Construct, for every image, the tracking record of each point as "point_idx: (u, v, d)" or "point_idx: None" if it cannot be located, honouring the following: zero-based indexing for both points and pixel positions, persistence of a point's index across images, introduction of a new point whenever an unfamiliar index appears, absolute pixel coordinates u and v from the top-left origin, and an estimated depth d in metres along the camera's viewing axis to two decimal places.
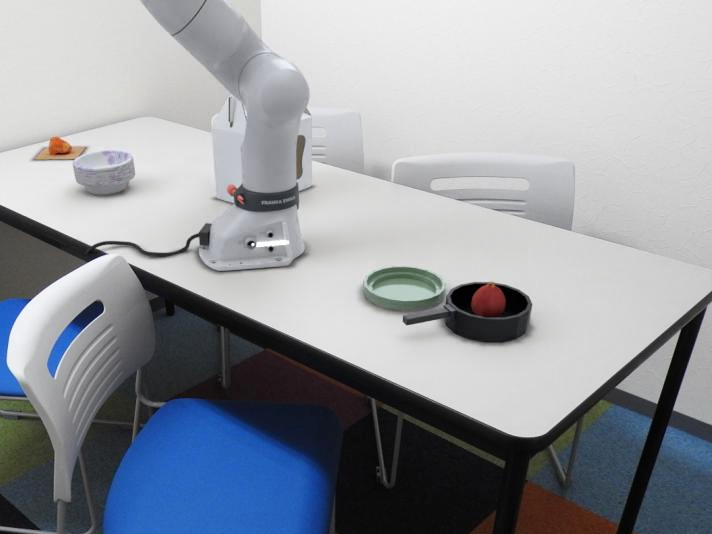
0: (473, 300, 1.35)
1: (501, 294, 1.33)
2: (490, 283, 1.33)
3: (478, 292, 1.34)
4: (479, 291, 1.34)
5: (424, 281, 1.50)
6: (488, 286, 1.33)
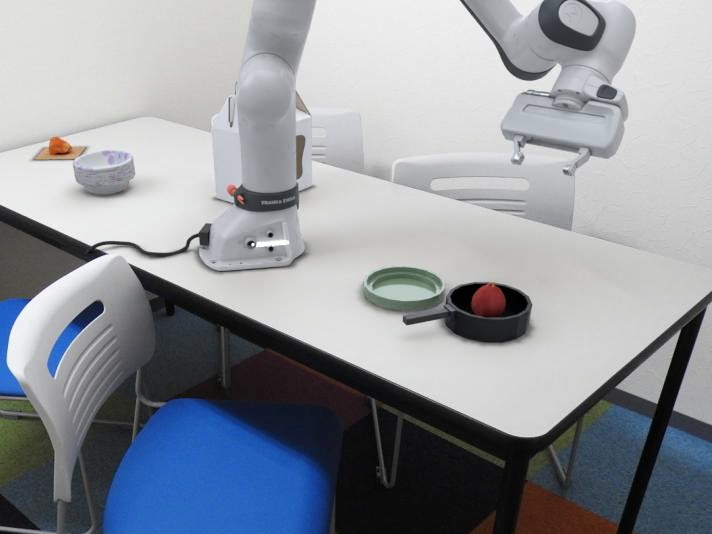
0: (473, 300, 1.35)
1: (501, 294, 1.33)
2: (490, 283, 1.33)
3: (478, 292, 1.34)
4: (479, 291, 1.34)
5: (424, 281, 1.50)
6: (488, 286, 1.33)
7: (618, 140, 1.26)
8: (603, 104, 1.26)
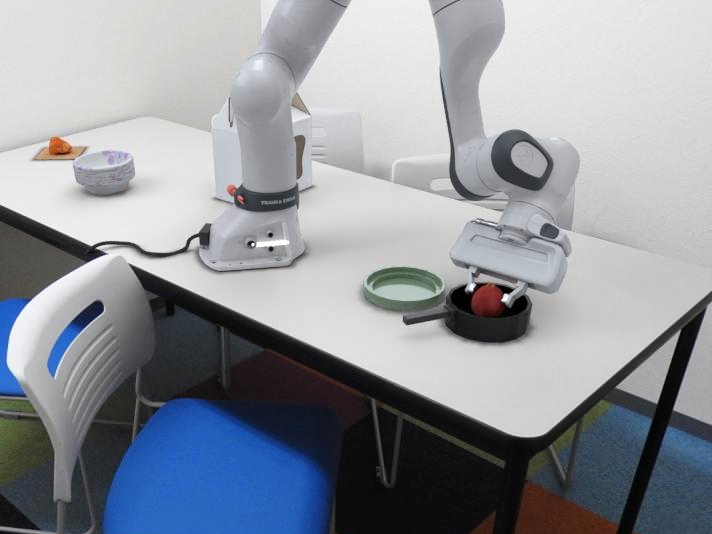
0: (473, 300, 1.35)
1: (501, 294, 1.33)
2: (490, 283, 1.33)
3: (478, 292, 1.34)
4: (479, 291, 1.34)
5: (424, 281, 1.50)
6: (488, 286, 1.33)
7: (561, 277, 1.29)
8: (546, 242, 1.29)
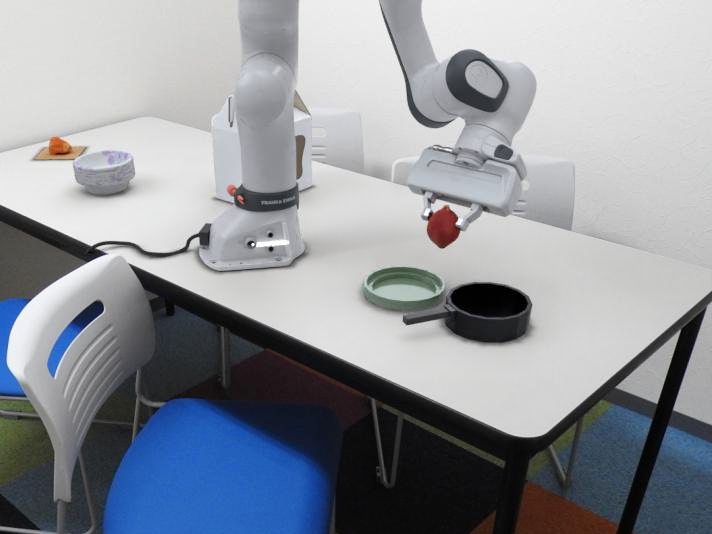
0: (428, 224, 1.34)
1: (456, 218, 1.32)
2: (445, 206, 1.32)
3: (433, 216, 1.33)
4: (434, 215, 1.33)
5: (424, 281, 1.50)
6: (443, 209, 1.32)
7: (514, 199, 1.29)
8: (500, 164, 1.28)
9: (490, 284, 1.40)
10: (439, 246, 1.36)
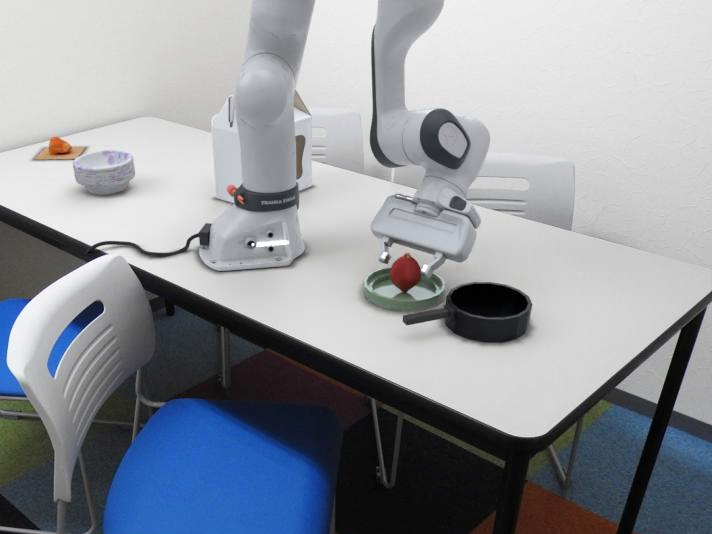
0: (391, 270, 1.44)
1: (416, 264, 1.43)
2: (405, 254, 1.42)
3: (395, 263, 1.44)
4: (396, 262, 1.43)
5: (424, 281, 1.50)
6: (404, 257, 1.43)
7: (468, 247, 1.39)
8: (455, 214, 1.39)
9: (490, 284, 1.40)
10: (402, 290, 1.46)
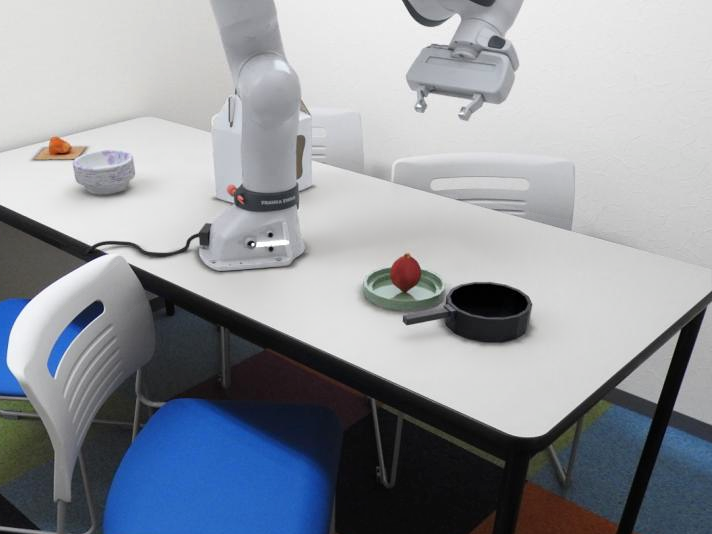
0: (391, 270, 1.44)
1: (416, 264, 1.43)
2: (405, 254, 1.42)
3: (395, 263, 1.44)
4: (396, 262, 1.43)
5: (424, 281, 1.50)
6: (404, 257, 1.43)
7: (507, 86, 1.37)
8: (494, 53, 1.37)
9: (490, 284, 1.40)
10: (402, 290, 1.46)
